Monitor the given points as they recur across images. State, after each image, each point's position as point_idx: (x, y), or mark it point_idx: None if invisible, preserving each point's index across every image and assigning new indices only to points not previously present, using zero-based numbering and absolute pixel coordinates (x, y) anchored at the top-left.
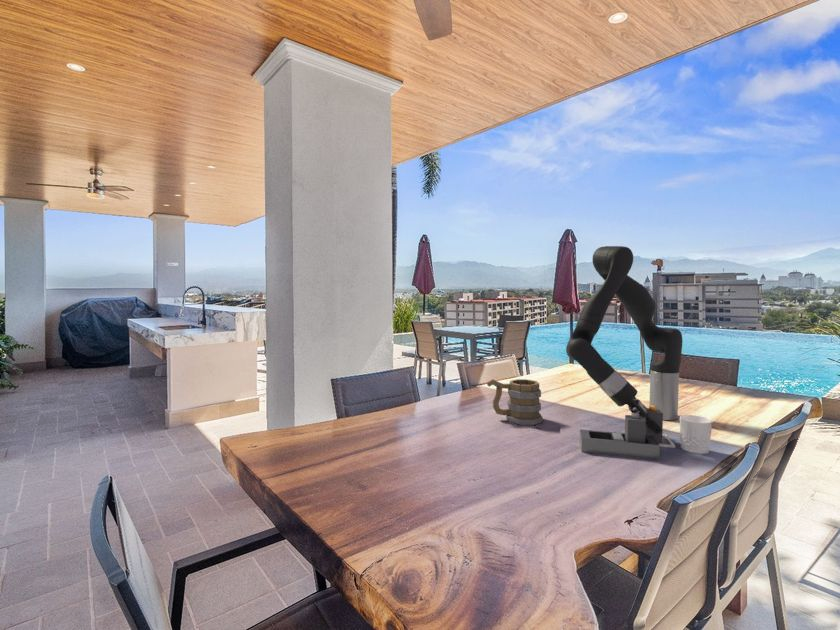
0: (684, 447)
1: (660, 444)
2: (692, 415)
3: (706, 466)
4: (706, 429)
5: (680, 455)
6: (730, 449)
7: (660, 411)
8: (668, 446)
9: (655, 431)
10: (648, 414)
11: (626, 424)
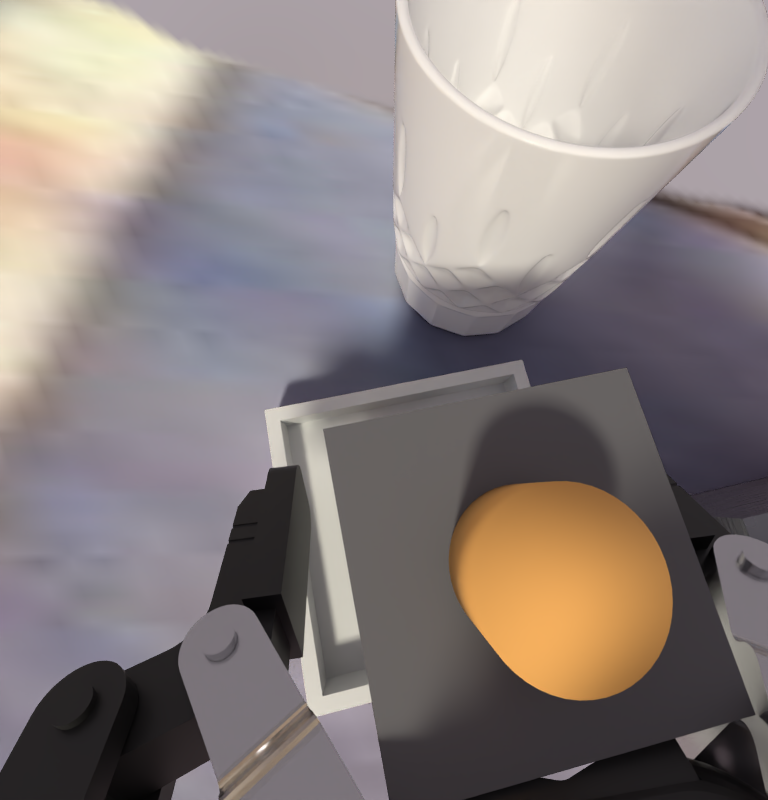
0: (535, 304)
1: None
2: (406, 15)
3: (670, 234)
4: (646, 23)
5: (572, 345)
6: (307, 99)
7: (543, 410)
8: None
9: None
10: (736, 641)
11: None
